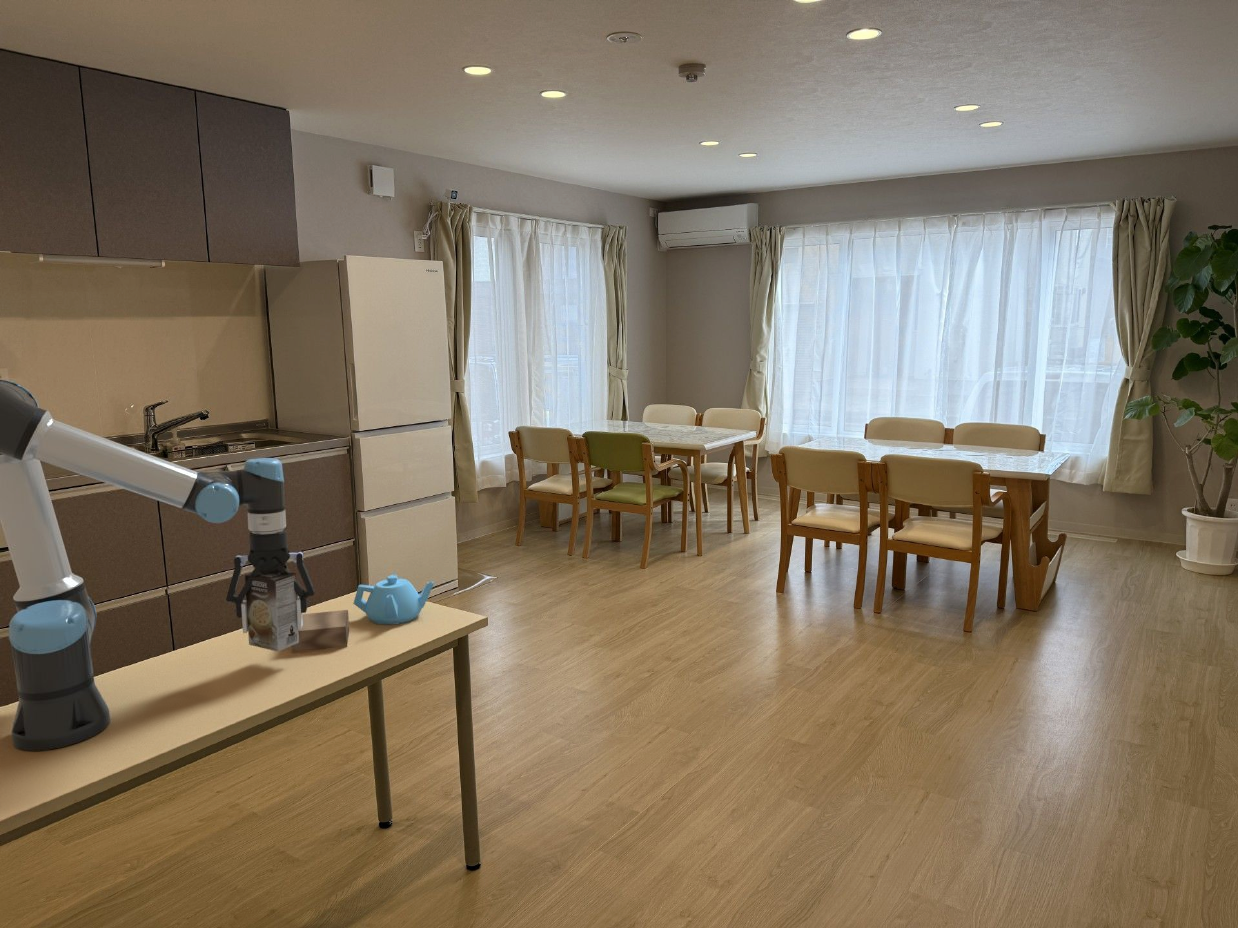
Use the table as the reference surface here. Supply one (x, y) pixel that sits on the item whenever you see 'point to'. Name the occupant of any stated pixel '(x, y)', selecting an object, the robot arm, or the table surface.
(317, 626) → the walnut base
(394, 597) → the teapot
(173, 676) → the table surface
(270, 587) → the coffee box
